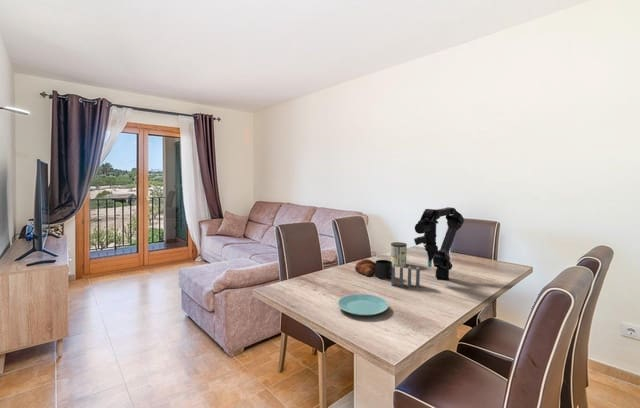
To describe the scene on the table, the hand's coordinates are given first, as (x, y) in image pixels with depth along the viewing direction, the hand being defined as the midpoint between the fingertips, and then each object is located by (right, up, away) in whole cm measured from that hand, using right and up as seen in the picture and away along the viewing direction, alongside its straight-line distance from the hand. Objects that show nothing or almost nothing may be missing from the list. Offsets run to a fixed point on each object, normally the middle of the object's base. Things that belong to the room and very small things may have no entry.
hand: (429, 260), depth 168 cm
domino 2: (-16, -13, -3) cm, 21 cm away
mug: (-22, -12, +10) cm, 27 cm away
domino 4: (-8, -13, -5) cm, 16 cm away
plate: (-41, -16, -33) cm, 55 cm away
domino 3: (-12, -13, -4) cm, 18 cm away
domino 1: (-20, -13, -2) cm, 24 cm away
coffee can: (-7, -10, +38) cm, 40 cm away
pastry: (-32, -12, +22) cm, 41 cm away
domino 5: (0, -3, 0) cm, 3 cm away
